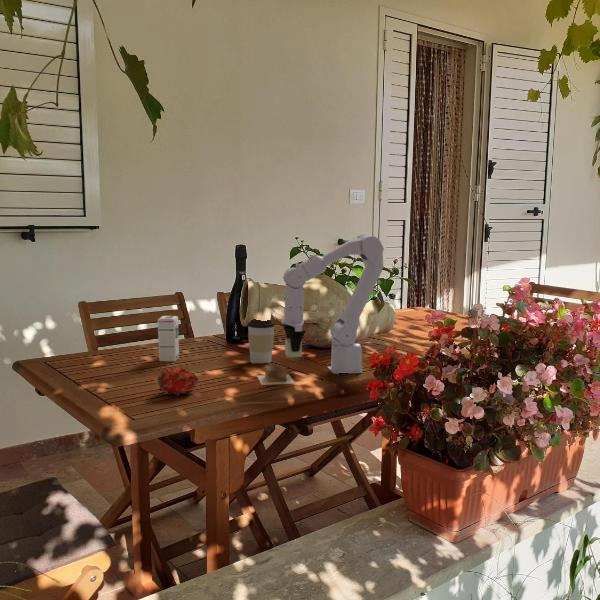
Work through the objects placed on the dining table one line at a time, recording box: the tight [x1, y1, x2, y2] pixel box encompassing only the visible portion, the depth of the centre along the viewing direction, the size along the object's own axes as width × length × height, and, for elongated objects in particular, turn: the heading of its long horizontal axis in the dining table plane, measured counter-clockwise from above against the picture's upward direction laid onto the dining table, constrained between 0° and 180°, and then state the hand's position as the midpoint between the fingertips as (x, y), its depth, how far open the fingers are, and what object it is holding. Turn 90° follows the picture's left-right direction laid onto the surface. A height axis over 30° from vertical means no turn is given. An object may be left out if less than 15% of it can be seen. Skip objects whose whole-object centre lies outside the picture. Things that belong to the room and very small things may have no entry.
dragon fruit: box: [156, 366, 199, 397], centre depth 181 cm, size 8×8×12 cm
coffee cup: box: [247, 319, 276, 364], centre depth 217 cm, size 9×9×15 cm
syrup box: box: [157, 315, 180, 362], centre depth 218 cm, size 6×6×14 cm
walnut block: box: [264, 365, 287, 382], centre depth 195 cm, size 6×6×4 cm
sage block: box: [284, 337, 303, 358], centre depth 204 cm, size 4×4×5 cm
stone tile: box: [256, 373, 296, 386], centre depth 196 cm, size 10×10×1 cm
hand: (293, 349), depth 204 cm, fingers closed on sage block, 4 cm apart
